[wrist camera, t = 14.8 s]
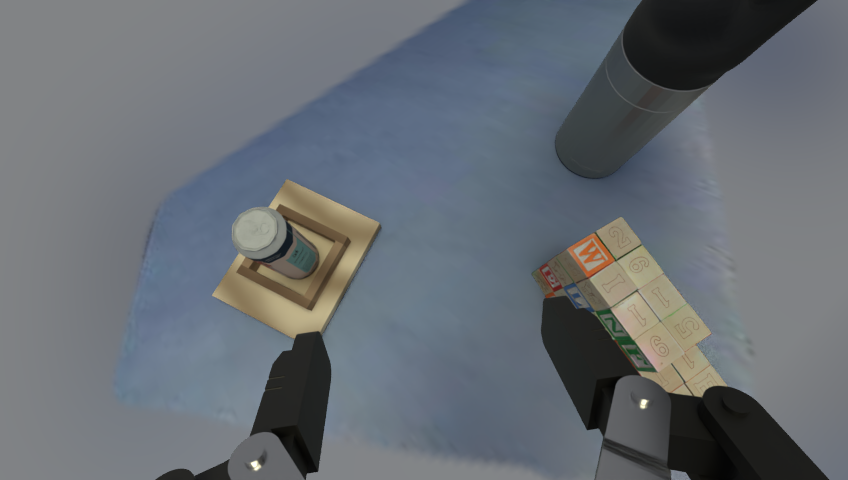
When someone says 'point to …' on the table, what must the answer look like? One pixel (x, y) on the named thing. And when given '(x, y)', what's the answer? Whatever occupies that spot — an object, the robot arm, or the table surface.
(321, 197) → the base board
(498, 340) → the table surface
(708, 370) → the stack of blocks
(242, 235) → the beer can
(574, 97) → the table surface
